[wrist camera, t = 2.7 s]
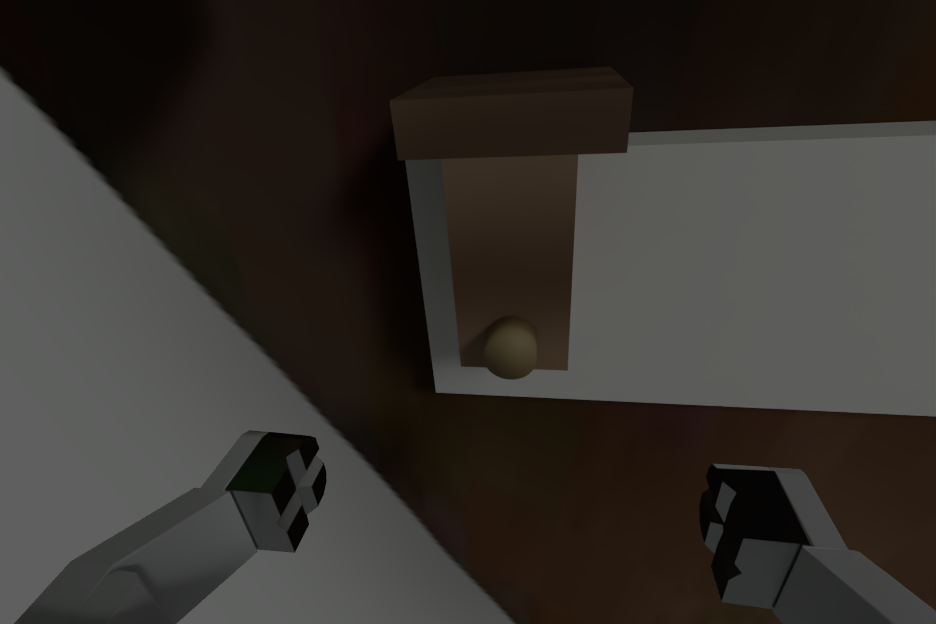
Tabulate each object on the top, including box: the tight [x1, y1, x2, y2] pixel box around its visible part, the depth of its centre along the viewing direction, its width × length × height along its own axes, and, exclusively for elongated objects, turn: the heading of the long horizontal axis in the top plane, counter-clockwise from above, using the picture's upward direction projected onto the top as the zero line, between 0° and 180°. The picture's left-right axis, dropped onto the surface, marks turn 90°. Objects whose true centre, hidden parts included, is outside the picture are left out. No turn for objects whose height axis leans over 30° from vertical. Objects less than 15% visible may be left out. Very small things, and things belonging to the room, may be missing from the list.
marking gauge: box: [390, 67, 633, 380], centre depth 16 cm, size 8×6×7 cm
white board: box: [405, 121, 936, 416], centre depth 19 cm, size 11×26×2 cm, turn 94°
